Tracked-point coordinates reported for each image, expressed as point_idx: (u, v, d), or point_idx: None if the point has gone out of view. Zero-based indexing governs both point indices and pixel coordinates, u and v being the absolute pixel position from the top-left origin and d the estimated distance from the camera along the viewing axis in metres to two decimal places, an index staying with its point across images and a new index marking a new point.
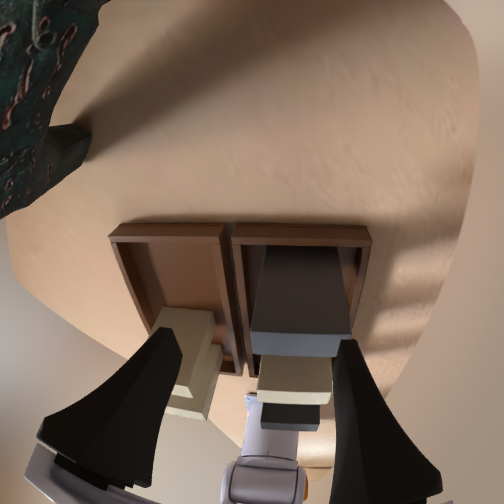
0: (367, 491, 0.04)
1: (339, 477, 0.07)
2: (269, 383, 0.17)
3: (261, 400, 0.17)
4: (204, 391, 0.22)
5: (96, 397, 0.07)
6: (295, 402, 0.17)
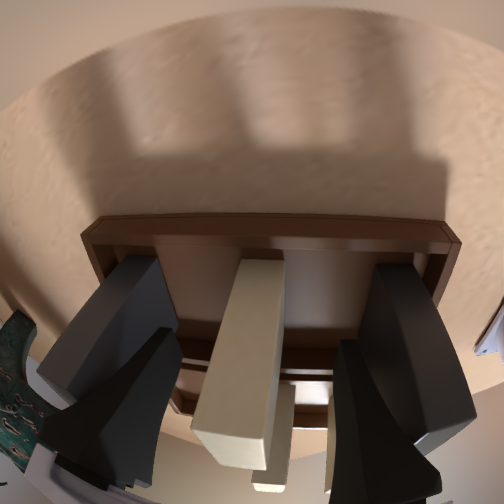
0: (366, 491, 0.04)
1: (339, 477, 0.07)
2: None
3: (258, 469, 0.08)
4: None
5: (97, 397, 0.07)
6: (254, 457, 0.07)
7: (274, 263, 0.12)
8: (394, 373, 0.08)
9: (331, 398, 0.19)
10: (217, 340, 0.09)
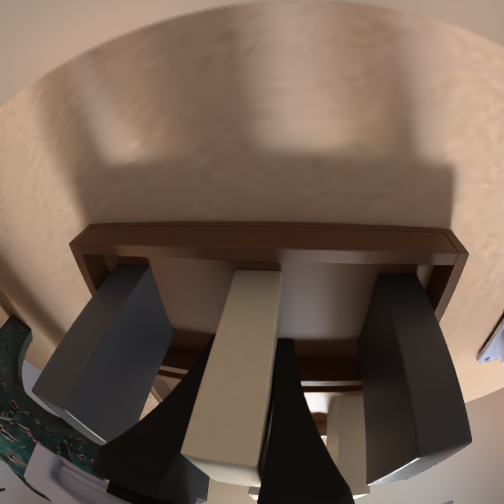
0: (259, 492, 0.04)
1: None
2: None
3: (253, 485, 0.08)
4: (337, 465, 0.12)
5: (159, 417, 0.07)
6: (248, 478, 0.06)
7: (271, 274, 0.12)
8: (390, 390, 0.08)
9: (330, 407, 0.18)
10: (209, 360, 0.08)
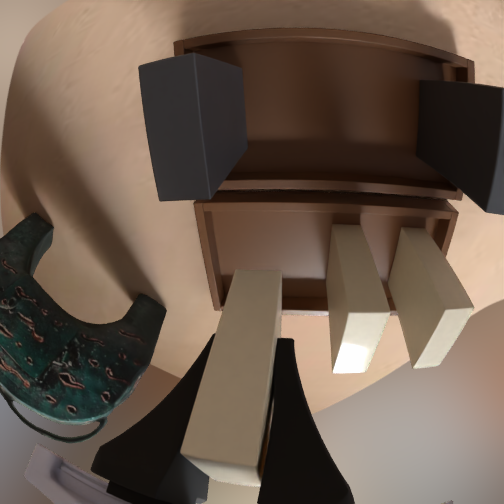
0: (259, 493, 0.04)
1: None
2: None
3: (253, 485, 0.08)
4: (429, 284, 0.12)
5: (159, 417, 0.07)
6: (248, 478, 0.06)
7: (271, 274, 0.12)
8: (460, 111, 0.08)
9: None
10: (208, 359, 0.08)
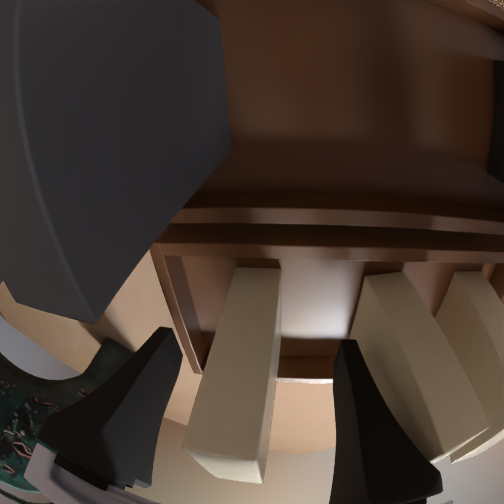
0: (367, 491, 0.04)
1: (339, 477, 0.07)
2: None
3: (254, 482, 0.08)
4: (498, 372, 0.06)
5: (96, 397, 0.07)
6: (248, 473, 0.07)
7: (270, 272, 0.12)
8: None
9: (434, 318, 0.12)
10: (210, 355, 0.08)
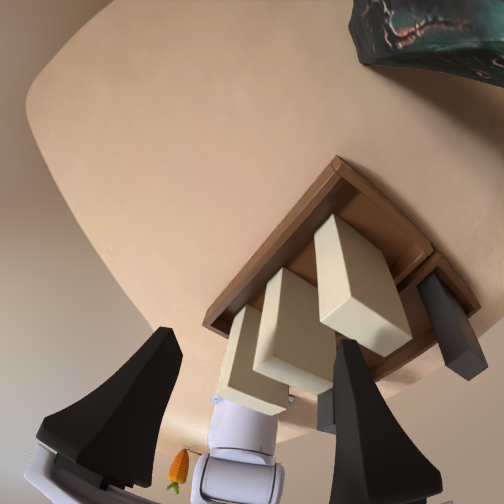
0: (367, 491, 0.04)
1: (339, 477, 0.07)
2: (361, 295, 0.11)
3: (329, 320, 0.12)
4: None
5: (96, 397, 0.07)
6: (363, 339, 0.12)
7: None
8: None
9: None
10: (398, 296, 0.15)
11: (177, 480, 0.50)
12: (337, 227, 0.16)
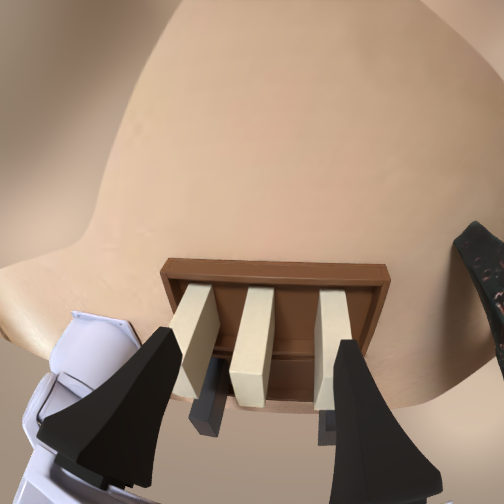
0: (367, 491, 0.04)
1: (339, 477, 0.07)
2: None
3: (328, 379, 0.15)
4: (204, 374, 0.20)
5: (96, 397, 0.07)
6: (323, 396, 0.16)
7: None
8: (221, 408, 0.26)
9: (215, 300, 0.23)
10: None
11: None
12: None
